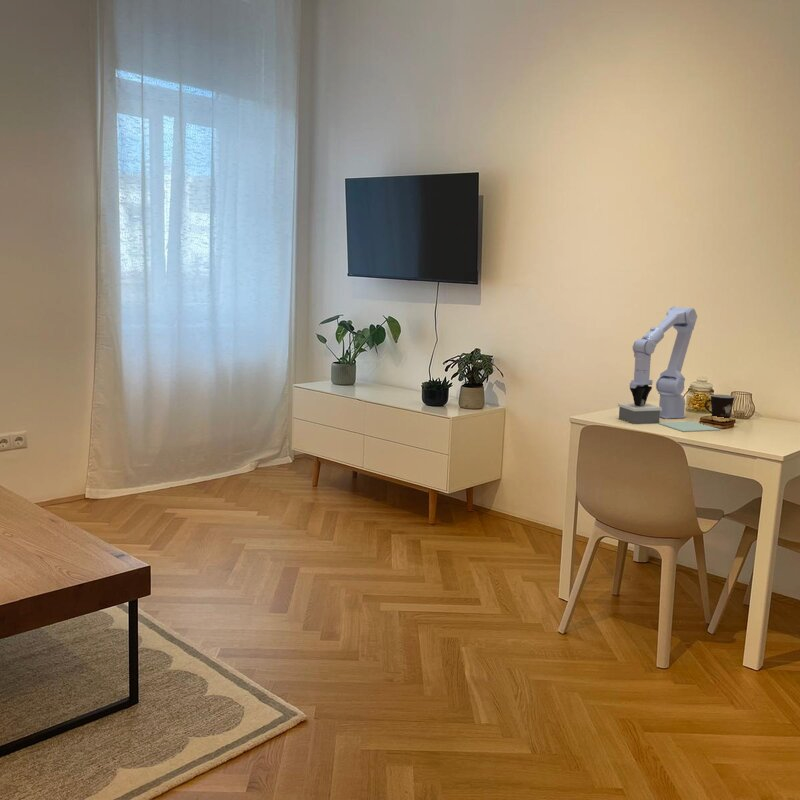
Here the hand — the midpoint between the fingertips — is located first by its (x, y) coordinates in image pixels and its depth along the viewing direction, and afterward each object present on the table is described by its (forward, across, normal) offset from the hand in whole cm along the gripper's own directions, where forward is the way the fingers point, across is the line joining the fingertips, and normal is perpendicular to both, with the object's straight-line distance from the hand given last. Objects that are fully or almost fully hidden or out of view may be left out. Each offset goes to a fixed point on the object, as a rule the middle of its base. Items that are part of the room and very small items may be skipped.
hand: (639, 404), depth 325 cm
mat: (+6, -3, +19) cm, 20 cm away
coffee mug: (+6, -24, +21) cm, 32 cm away
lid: (+1, 0, 0) cm, 1 cm away
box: (+6, 0, 0) cm, 6 cm away
